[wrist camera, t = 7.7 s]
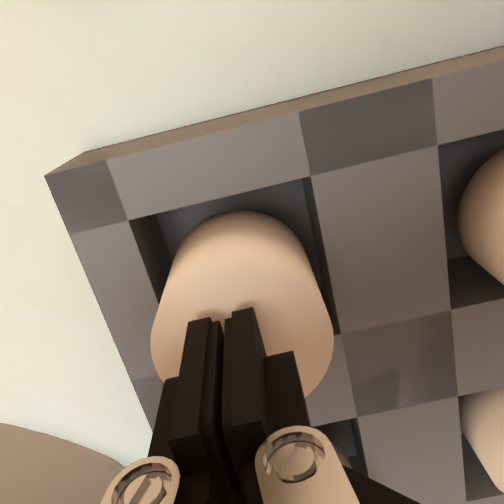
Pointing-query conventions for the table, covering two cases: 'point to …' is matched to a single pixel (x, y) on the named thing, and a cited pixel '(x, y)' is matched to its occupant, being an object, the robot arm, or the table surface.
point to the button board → (329, 252)
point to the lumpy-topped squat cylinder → (51, 469)
